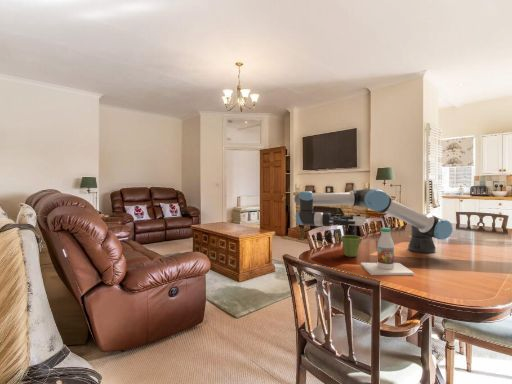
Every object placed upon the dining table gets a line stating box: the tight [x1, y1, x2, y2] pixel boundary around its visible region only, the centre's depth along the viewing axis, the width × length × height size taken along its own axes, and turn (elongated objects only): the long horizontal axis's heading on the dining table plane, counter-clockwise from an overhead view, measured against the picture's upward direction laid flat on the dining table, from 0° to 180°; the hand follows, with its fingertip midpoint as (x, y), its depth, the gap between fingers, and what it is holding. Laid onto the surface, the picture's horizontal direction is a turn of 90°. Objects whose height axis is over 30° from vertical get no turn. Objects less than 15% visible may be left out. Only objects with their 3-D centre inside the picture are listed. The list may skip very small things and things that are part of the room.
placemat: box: [360, 262, 415, 276], centre depth 142 cm, size 20×16×1 cm
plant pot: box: [340, 234, 362, 258], centre depth 170 cm, size 12×12×11 cm
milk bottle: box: [376, 227, 395, 269], centre depth 142 cm, size 8×8×20 cm
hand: (364, 221), depth 146 cm, fingers open, 13 cm apart
